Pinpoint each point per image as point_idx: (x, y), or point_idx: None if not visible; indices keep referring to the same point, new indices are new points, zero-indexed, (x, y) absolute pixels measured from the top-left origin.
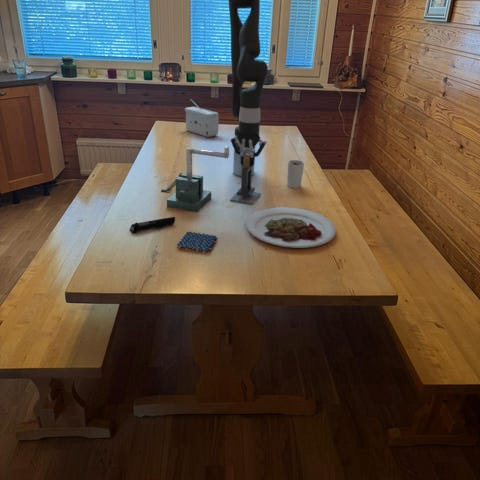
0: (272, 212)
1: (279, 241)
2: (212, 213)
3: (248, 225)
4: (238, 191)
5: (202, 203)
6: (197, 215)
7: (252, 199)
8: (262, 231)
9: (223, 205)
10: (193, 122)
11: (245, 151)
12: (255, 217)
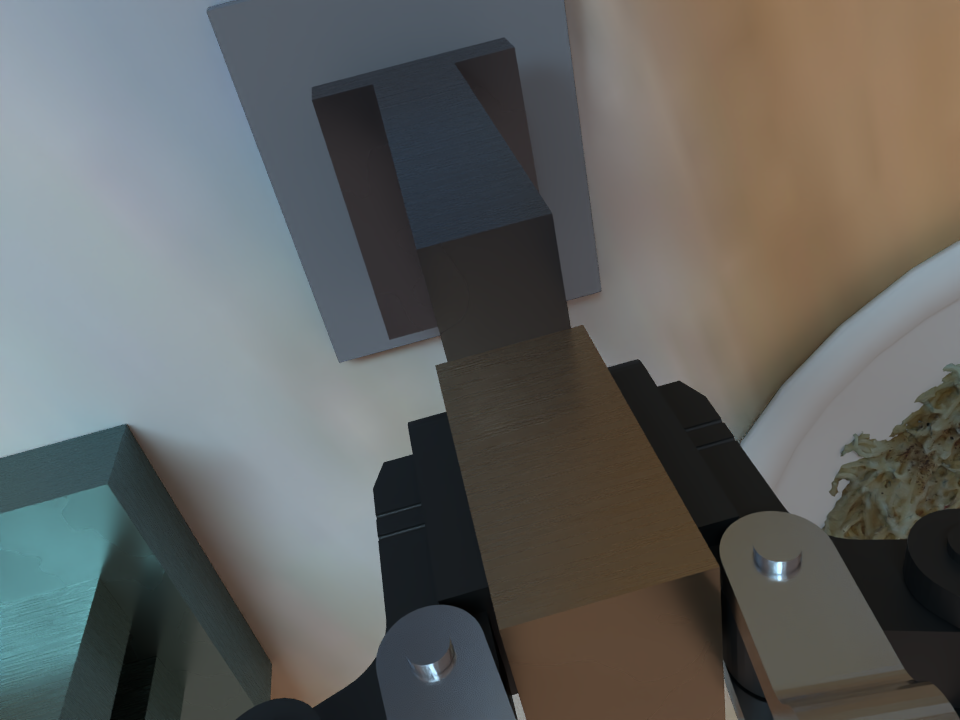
0: (849, 370)
1: None
2: (378, 612)
3: None
4: (390, 311)
5: (227, 628)
6: (308, 687)
7: (552, 205)
8: None
9: (351, 464)
10: None
11: (508, 700)
12: None
